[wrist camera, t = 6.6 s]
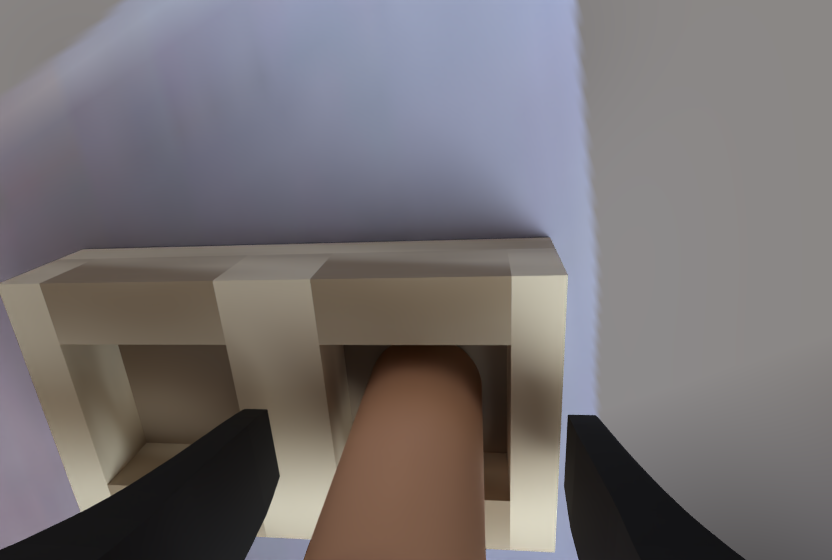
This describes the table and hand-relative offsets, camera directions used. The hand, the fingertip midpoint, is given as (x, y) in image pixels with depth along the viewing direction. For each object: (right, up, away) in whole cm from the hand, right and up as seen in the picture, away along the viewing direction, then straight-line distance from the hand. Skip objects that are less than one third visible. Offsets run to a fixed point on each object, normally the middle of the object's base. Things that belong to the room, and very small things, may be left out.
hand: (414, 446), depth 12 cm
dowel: (0, +1, +3) cm, 3 cm away
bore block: (-3, +1, +4) cm, 5 cm away
